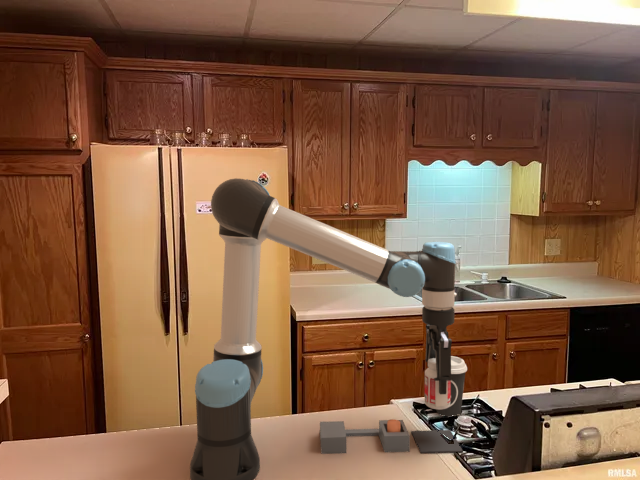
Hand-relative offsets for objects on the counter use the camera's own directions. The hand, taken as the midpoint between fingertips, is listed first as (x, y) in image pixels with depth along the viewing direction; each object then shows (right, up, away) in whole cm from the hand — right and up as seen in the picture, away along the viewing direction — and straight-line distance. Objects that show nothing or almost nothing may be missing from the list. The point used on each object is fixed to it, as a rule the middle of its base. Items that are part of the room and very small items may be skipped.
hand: (437, 399), depth 117 cm
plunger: (-11, -11, +1) cm, 15 cm away
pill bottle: (0, -2, 0) cm, 2 cm away
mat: (0, -11, +1) cm, 11 cm away
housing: (-18, -11, +1) cm, 21 cm away
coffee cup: (+7, -10, +17) cm, 21 cm away
